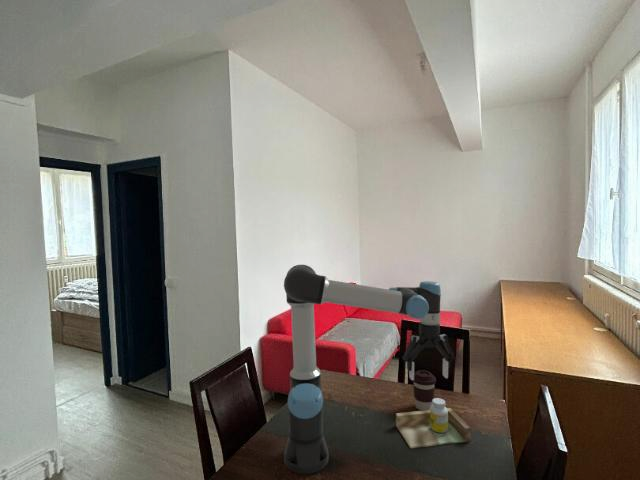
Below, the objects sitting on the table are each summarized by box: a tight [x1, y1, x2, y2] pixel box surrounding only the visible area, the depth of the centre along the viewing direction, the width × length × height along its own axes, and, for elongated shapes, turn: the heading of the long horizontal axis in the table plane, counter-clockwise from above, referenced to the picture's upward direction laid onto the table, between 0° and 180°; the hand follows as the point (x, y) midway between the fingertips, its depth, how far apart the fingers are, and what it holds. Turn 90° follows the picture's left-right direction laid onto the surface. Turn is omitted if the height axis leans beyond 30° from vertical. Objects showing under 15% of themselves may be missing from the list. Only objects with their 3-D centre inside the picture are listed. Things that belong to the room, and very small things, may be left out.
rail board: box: [395, 407, 472, 449], centre depth 129 cm, size 23×14×5 cm, turn 99°
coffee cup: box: [411, 369, 437, 411], centre depth 148 cm, size 10×10×15 cm
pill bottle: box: [430, 397, 448, 435], centre depth 130 cm, size 6×6×12 cm
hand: (428, 377), depth 130 cm, fingers open, 13 cm apart
